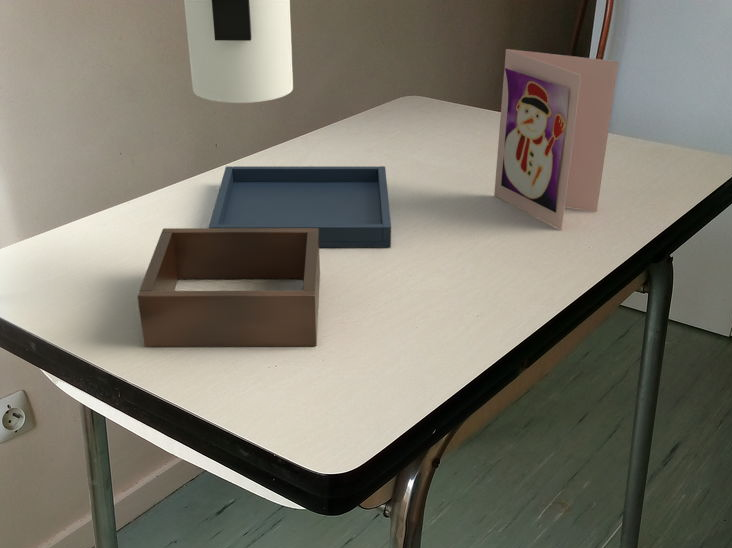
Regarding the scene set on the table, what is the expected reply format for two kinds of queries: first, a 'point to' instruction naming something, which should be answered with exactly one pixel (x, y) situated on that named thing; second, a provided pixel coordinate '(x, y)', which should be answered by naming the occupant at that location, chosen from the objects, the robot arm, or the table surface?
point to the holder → (231, 308)
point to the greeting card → (553, 132)
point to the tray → (308, 202)
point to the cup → (241, 54)
